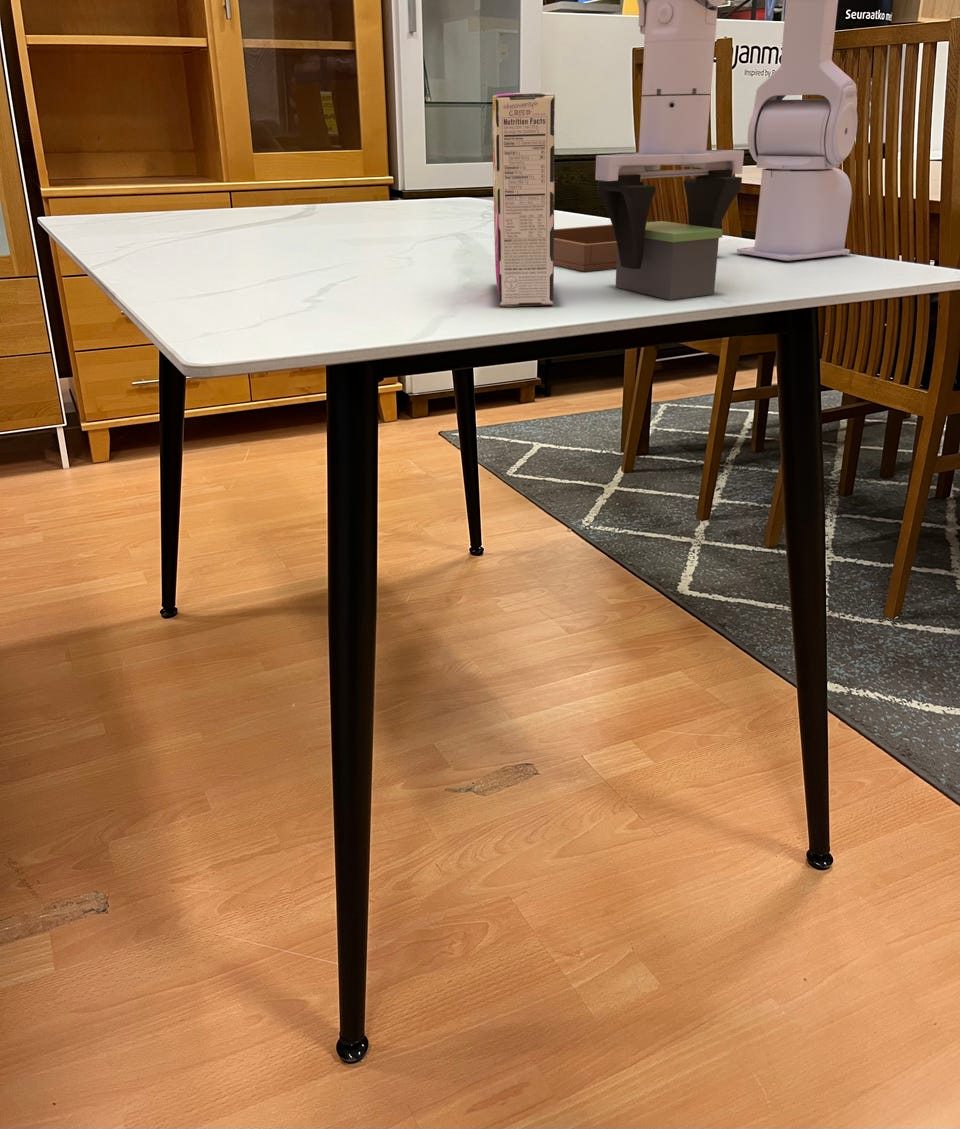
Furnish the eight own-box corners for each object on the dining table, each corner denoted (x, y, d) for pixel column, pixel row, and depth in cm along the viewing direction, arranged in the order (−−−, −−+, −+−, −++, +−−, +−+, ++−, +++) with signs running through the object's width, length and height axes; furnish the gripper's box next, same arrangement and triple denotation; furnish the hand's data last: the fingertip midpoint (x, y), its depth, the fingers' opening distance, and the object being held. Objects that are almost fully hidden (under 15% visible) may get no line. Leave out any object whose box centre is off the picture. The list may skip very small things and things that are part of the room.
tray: (641, 244, 116) (643, 221, 115) (717, 257, 105) (719, 232, 104) (516, 256, 109) (516, 232, 108) (583, 271, 98) (584, 245, 97)
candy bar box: (493, 285, 91) (491, 93, 84) (545, 284, 91) (548, 92, 84) (495, 307, 81) (493, 91, 74) (554, 306, 81) (558, 90, 74)
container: (658, 281, 92) (662, 220, 89) (717, 294, 85) (723, 229, 83) (612, 286, 90) (614, 224, 87) (669, 300, 83) (673, 233, 80)
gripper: (634, 95, 74) (625, 276, 80) (775, 94, 80) (757, 262, 86) (583, 97, 80) (578, 266, 86) (718, 95, 86) (705, 253, 92)
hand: (665, 264), depth 86 cm, fingers open, 7 cm apart
